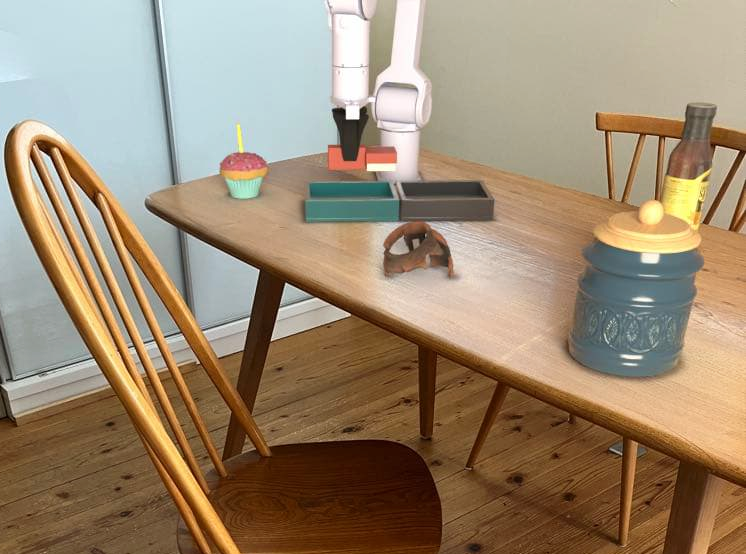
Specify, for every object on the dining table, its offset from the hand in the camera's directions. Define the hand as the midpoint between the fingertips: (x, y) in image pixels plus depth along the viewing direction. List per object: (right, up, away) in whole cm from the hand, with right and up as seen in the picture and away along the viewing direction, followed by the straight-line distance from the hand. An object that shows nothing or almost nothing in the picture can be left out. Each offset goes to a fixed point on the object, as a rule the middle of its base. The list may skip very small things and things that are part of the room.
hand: (349, 158), depth 147 cm
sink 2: (+16, -6, +6) cm, 18 cm away
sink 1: (0, -7, +5) cm, 8 cm away
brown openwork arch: (+10, -24, -19) cm, 32 cm away
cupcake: (-18, -1, +12) cm, 22 cm away
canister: (+32, -41, -41) cm, 66 cm away
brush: (+2, -1, +1) cm, 2 cm away
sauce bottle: (+49, -18, -9) cm, 53 cm away
